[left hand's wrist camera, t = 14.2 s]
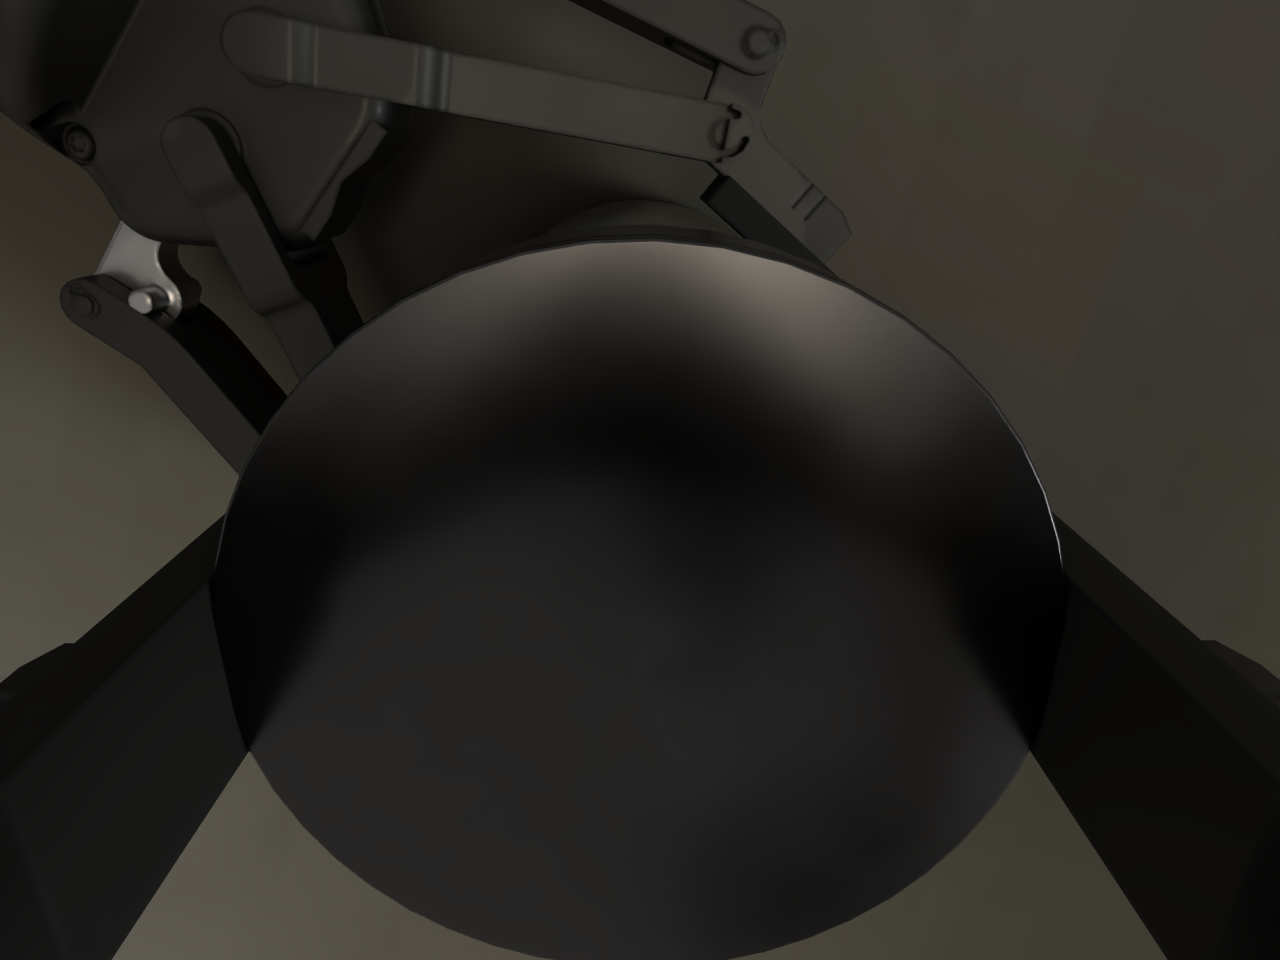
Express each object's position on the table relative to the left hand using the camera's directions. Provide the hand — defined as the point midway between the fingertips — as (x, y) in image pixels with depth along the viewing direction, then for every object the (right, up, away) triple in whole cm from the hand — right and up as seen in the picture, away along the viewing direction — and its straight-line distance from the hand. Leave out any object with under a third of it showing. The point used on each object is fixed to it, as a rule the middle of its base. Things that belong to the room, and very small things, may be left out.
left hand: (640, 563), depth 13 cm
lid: (0, -1, -3) cm, 3 cm away
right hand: (+3, +1, +9) cm, 10 cm away
